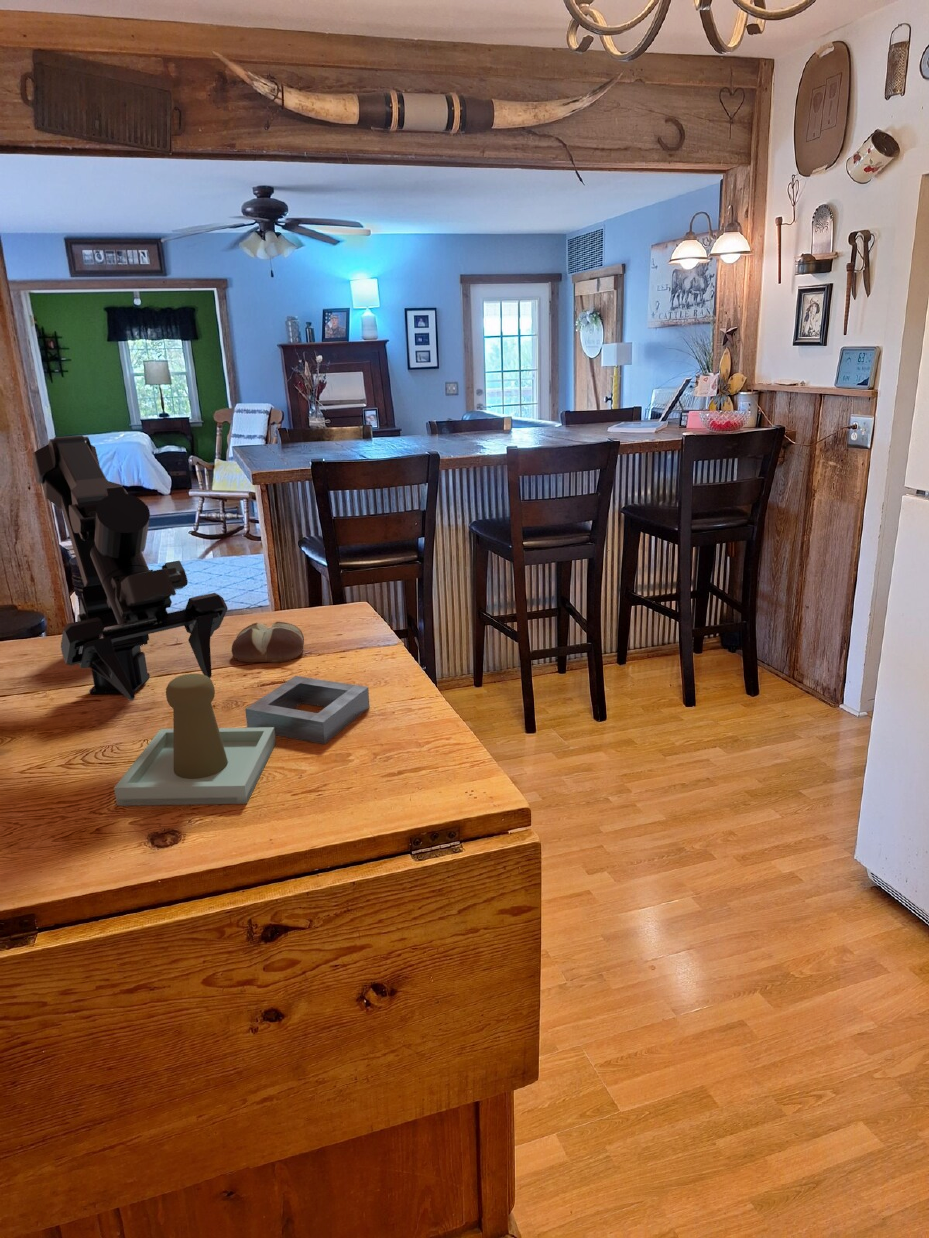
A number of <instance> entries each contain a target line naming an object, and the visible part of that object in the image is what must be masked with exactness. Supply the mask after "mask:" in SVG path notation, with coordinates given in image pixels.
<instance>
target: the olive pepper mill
mask: <svg viewBox="0 0 929 1238" xmlns="http://www.w3.org/2000/svg"><path fill="white" fill-rule="evenodd" d="M214 685H215V684H214V682H213V680H212V679H211V678H209V677H207V676H205V675H204V674H203V673H202V674H201V673H187V674H182V675H179V676H177V677H175V678H173V679H172V680H170V681H169V682H168V684H167V686H166V688H165V689H166V690H165V695H166V696H165V698H166V701H167V703H168V705H169V707H170V708H172V709H173V717H172V719H173V721H172V722H173V729H174V773H175V774H176V775H177V776H179V777H181V778H186V779H199V778H204V777H209V776H211V775H214V774H217V773H218V772H220V771H222V770H223V769H224V768H225V767H226V766H227V764H228V760H227V757H226V753H225V750H224V746H223V743H222V739H221V736H220V732H219V729H218V728H219V725H218V722H217V719H216V716H215V712H214V709H213V705H212V702H213V700H214V699H215V694H216V691H215V690H216V688H215V686H214Z"/></svg>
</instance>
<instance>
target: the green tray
mask: <svg viewBox="0 0 929 1238" xmlns="http://www.w3.org/2000/svg"><path fill="white" fill-rule="evenodd" d="M218 729H219V732H220V736H221V739H222V743H223V746H224V750H225V753H226V757H227V760H228V764H227V766H226V767H225V768H224V769H223V770H222V771H220V772H218V773H217V774H214V775H211V776H209V777H204V778H199V779H186V778H181V777H179V776H177V775H176V774H175V773H174V728H160V729H159V730H158V732H157V733H156V735H155V736H154V737H153V738H152V739H151V740H150V742H149V743H148V745H147V746H145V748H144V750H142V752H141V753H140V755H139V756H138V757H137V758H136V759H135V761H134V762H133V763H132V765H130V767H129V769H127V771H126V772H125V773H124V774H123V775H122V777H121V778H120V780H118V782H117V783H116V784H115V786H114V787H113V789H114V795H115V801H116V806H118V807H119V806H120V807H122V806H124V807H126V806H130V807H131V806H177V805H178V806H187V805H193V806H194V805H246V804H248V802H249V801H250V798H251V796H252V794H253V792H254V790H255V788H256V785H257V784H258V781H259V779H260V777H261V776H262V773H263V770H264V769H265V767H266V765H267V762H268V760H269V759H270V756H271V754H272V752H273V750H274V748H275V746H276V744H277V743H276V735H275V730H274V727H258V728H247V727H218Z"/></svg>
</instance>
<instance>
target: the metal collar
mask: <svg viewBox="0 0 929 1238" xmlns="http://www.w3.org/2000/svg"><path fill="white" fill-rule="evenodd" d="M369 694H370V693H369V686H366V685H365V686H364V685H358V684H353V683H352V684H351V683H345V682H338V681H333V680H325V679H319V678H313V677H312V678H311V677H306V676H301V675H300V676H298V675H294V676H293V677H292V678H290V679H288V680H287V681H285V682H283V684H281V685H279V686H278V687H276V688H274V689H273V690H272V691H270V692H269V693H267V694H265V695H264V696H262V697H261V698H260V699H258V700H256V701H254V702H253V703H252V704H249V706H247V707H246V708H245V709H244V711H245V718H246V720H245V721H246V728H258V727H274V730H275V736H279V737H283V738H289V739H295V740H298V741H299V740H301V741H305V742H310V743H317V744H320V745H321V744H322V745H326V744H327V743H328V742H330V741H331V740H332V739H333V738H335V737H336V735H339V733H341V731H343V730H344V729H345V728H346V727H348V726H349V725H350V724H351V723H352V722H353V721H354V720H356V719H358V717H360V716H361V715H362V714H363V713H365V712H366V711H367V710H368V709H369V708H370V695H369ZM301 704H305V705H309V706H310V705H312V706H316V707H323V709H322V710H320V711H319V712H312V711H308V710H307V711H306V710H302V709H301V710H300V709H296V708H297V707H298V706H299V705H301Z"/></svg>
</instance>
